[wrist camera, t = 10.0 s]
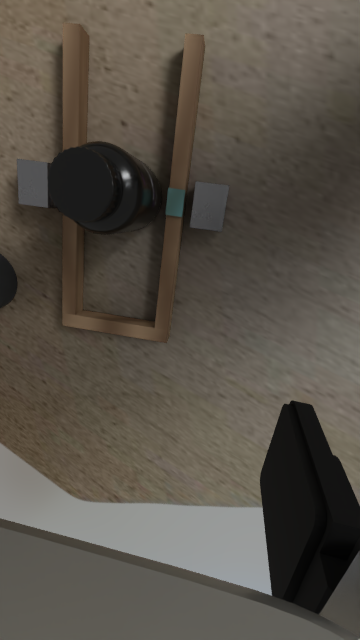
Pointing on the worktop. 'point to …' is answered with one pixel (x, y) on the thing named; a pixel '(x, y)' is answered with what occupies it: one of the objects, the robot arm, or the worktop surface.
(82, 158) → the supplement bottle
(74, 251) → the walnut rails
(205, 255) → the worktop surface
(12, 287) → the travel mug
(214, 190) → the pivot blocks
